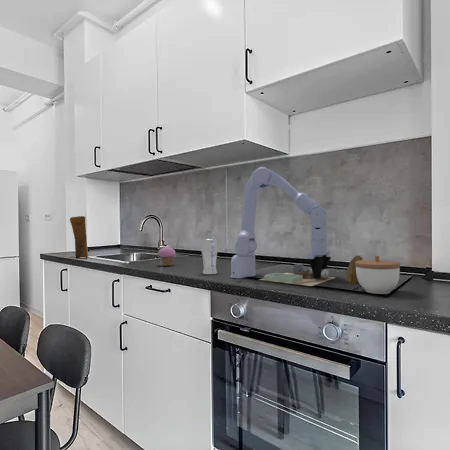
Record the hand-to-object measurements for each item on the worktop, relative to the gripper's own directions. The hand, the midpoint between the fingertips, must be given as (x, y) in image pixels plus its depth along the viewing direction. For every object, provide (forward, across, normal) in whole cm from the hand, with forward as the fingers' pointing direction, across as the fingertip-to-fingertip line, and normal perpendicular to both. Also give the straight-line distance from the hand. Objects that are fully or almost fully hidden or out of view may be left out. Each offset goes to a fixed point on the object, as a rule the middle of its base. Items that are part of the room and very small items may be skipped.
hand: (319, 276), depth 123 cm
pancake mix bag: (+2, -7, +168) cm, 168 cm away
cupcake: (+2, -2, +83) cm, 83 cm away
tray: (+2, -10, +10) cm, 14 cm away
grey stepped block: (0, 0, +7) cm, 7 cm away
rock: (+2, +2, -11) cm, 11 cm away
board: (+2, -4, +6) cm, 8 cm away
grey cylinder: (+1, 0, +1) cm, 1 cm away
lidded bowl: (+2, -6, -22) cm, 23 cm away
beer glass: (+2, -8, +47) cm, 48 cm away
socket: (+2, 0, +4) cm, 4 cm away
